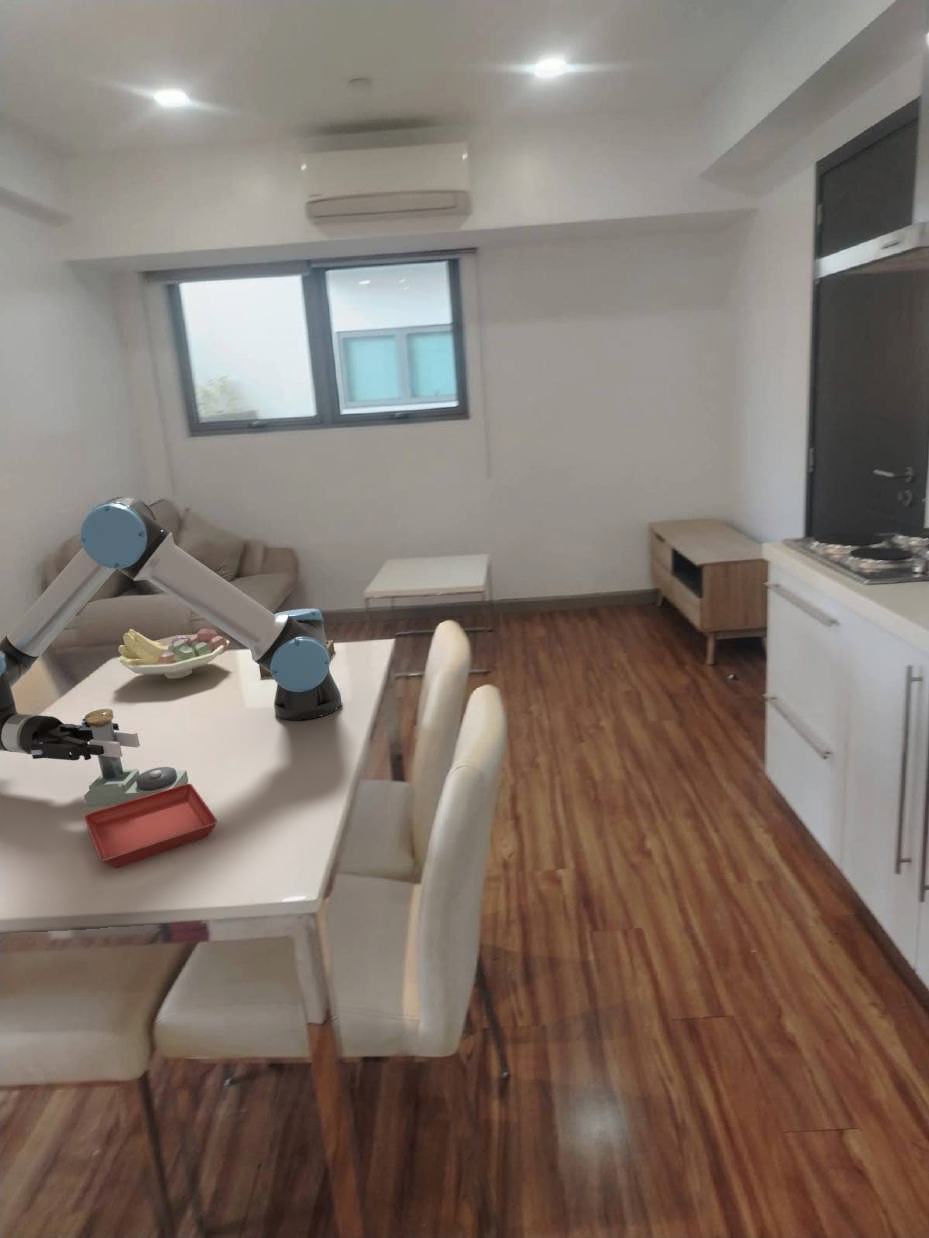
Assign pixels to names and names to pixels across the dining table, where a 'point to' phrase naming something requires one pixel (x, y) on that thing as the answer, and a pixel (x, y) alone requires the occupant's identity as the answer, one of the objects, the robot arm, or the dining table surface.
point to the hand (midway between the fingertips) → (128, 744)
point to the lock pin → (104, 731)
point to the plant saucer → (149, 825)
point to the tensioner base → (133, 785)
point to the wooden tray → (330, 649)
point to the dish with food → (170, 652)
